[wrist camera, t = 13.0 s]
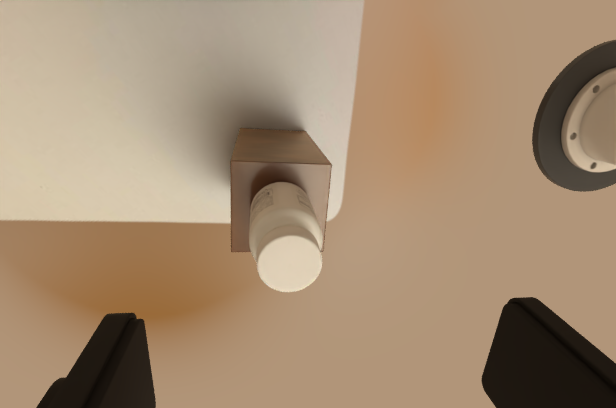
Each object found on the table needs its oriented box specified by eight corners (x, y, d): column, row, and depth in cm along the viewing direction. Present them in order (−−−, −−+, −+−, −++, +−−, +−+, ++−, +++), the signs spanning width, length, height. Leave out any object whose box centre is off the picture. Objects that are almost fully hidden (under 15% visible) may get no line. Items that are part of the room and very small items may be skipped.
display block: (306, 131, 37) (332, 164, 24) (301, 192, 40) (323, 252, 27) (239, 127, 36) (230, 160, 23) (239, 191, 39) (231, 252, 26)
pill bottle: (250, 236, 26) (247, 301, 18) (250, 179, 24) (247, 226, 17) (308, 236, 26) (328, 299, 19) (313, 181, 25) (335, 227, 18)
